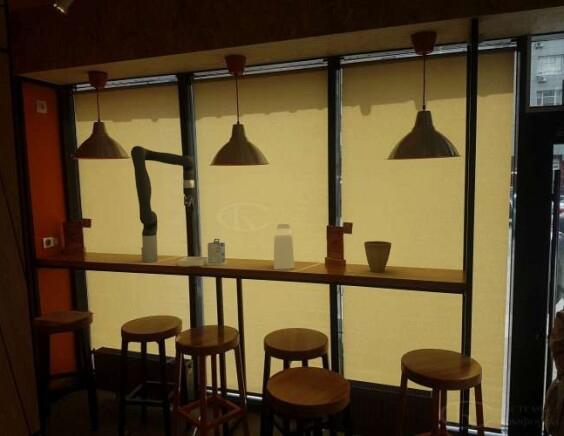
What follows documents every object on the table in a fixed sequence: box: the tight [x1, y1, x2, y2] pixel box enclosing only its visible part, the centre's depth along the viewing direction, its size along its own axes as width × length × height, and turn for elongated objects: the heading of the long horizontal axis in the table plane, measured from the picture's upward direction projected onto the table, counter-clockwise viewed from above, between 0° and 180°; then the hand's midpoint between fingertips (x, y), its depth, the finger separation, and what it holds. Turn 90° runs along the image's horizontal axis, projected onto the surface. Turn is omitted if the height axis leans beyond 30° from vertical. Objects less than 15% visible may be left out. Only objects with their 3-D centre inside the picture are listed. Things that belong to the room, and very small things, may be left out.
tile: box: [204, 260, 229, 266], centre depth 278 cm, size 12×10×1 cm
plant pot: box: [363, 240, 392, 273], centre depth 247 cm, size 15×15×16 cm
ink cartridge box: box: [207, 238, 226, 263], centre depth 278 cm, size 10×6×14 cm, turn 72°
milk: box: [273, 223, 295, 270], centre depth 262 cm, size 12×12×26 cm
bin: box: [177, 256, 208, 267], centre depth 280 cm, size 15×14×3 cm
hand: (189, 211), depth 291 cm, fingers open, 8 cm apart
